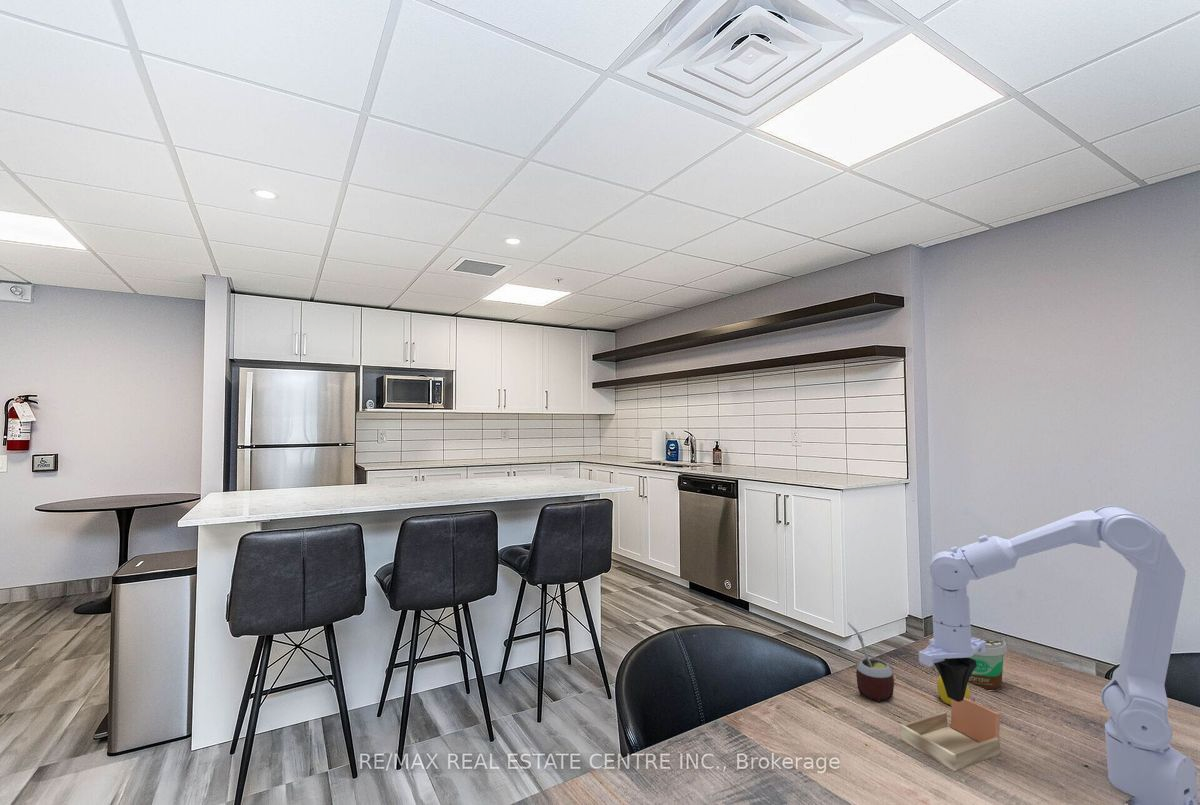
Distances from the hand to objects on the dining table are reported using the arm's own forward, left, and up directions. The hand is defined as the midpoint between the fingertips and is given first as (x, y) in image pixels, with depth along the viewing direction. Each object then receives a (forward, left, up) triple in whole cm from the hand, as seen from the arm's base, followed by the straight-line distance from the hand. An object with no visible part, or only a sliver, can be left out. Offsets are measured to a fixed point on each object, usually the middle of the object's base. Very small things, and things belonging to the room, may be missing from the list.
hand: (955, 698), depth 98 cm
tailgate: (0, -4, -8) cm, 9 cm away
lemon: (+10, -13, -9) cm, 19 cm away
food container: (+14, -27, -10) cm, 32 cm away
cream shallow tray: (0, +2, -9) cm, 9 cm away
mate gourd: (+19, -1, -10) cm, 21 cm away
